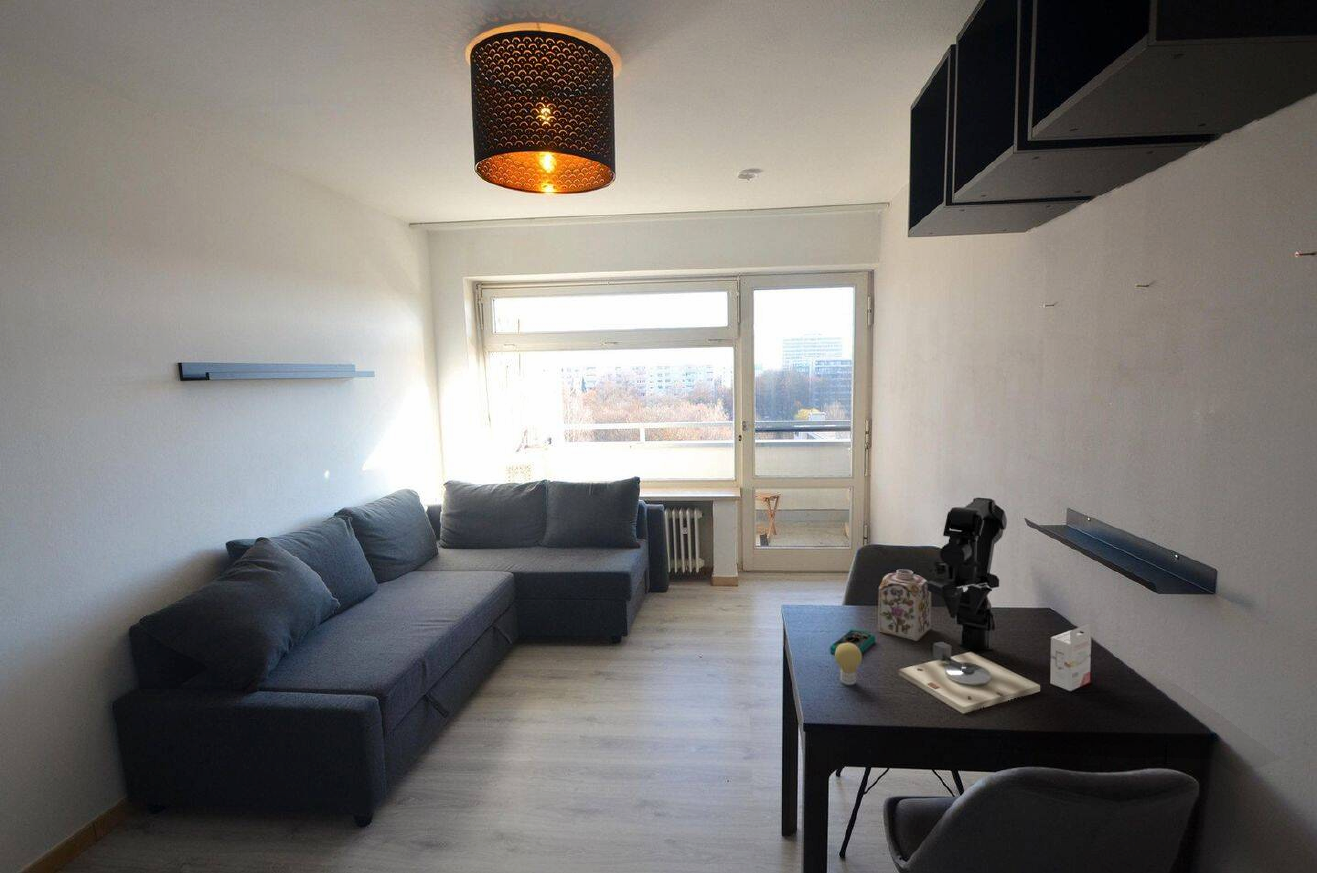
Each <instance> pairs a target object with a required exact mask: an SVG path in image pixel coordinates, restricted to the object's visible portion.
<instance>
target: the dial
mask: <svg viewBox="0 0 1317 873" xmlns="http://www.w3.org/2000/svg"><path fill="white" fill-rule="evenodd" d="M932 657H933V658H935V659H936V660H940V661H945V662H947V663H949V664H947V665H946V666H945V674H946V676H947V677H948V678H949V679H951V680H953V681H955V682H957V683H960V684H964V685H970V686H982V685H986V684H988V683H989V682H990V678H991V674H990V672H989V671H988V670H987V669H985V668H983V667H981V666H979V665H976V664H972V663H967V662H957V661H955V660H953V659H951V657H952V645H950V644H949V643H946V642H944V641H938V642H934V643H933V644H932Z"/></svg>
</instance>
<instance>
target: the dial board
mask: <svg viewBox="0 0 1317 873" xmlns="http://www.w3.org/2000/svg"><path fill="white" fill-rule="evenodd" d="M951 659H953V660H955V661H957V662H967V663H972V664H976V665H979V666H981V667H983V668H985V669H987V670H988V671H989V672H990V674H991V678H990V682H989V683H988V684H986V685H982V686H970V685H964V684H960V683H957V682H955V681H953V680H951V679H949V678H948V677H947V676H946V674H945V666H946V665H947V664H949V663H947V662H945V661H940V660H938V659H936V660H932V661H931V660H930V661H928V662H924V663H920V664H915V665H912V666H908V667H904V668H900V669H898V675H899V677H901V678H903V679H905V680H906V681H908V682H910V683H911V684H913V685H915V686H917V687H918V688H920V689H921V690H923V691H925V692H926V693H928V694H930V695H931V696H933V697H934V698H936V699H938V700H940V701H942V702H943V703H944V704H946V705H947V706H949V707H951V708H953V709H955V710H956V711H958V712H960V713H961V714H962V715H963V714H966V713H970V712H974V711H977V710H980V708H981V709H984V708H987V707H990V706H994V705H998V704H1001V703H1005V702H1008V700H1009V701H1011V699H1012V700H1015V699H1014V698H1016V699H1018V698H1017V697H1019V698H1022V697H1026V696H1030V695H1033V694H1035V693H1038V692H1041V684H1039V683H1036V682H1035V681H1032V680H1030V679H1028V678H1025V677H1024V676H1021V675H1020V674H1018V673H1015V672H1013V671H1011V670H1009V669H1007V668H1006V667H1004V666H1001V665H999V664H997V663H996V662H993V661H991V660H989V659H987V658H984V657H982V656H980V655H979V654H977V653H974V652H972V651H969V652H965V653H961V654H957V655H953V656H952V655H951ZM1021 696H1022V697H1021ZM983 707H984V708H983ZM973 710H974V711H973Z"/></svg>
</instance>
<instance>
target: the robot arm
mask: <svg viewBox="0 0 1317 873" xmlns="http://www.w3.org/2000/svg"><path fill="white" fill-rule="evenodd" d="M1007 522H1008V520H1007V516H1006V512H1005V510H1004V509H1003V508H1001V507H1000V506H998V505H997V503H996V501H995V499H992V498H987V497H975V498H973V500H972V501H971V502H970V503H968V504H967V505H966V506H964V507H963V506H962V507H961V506H955V507H952V508H950V511H948V512H947V515H946V519H945V523H944V529H943V533H942V537H947V538H949V539H948V542H947V543H946V544H944V545H943V546H942V547H941V548H940V551H939V556H940V559H941V561H942V562H943V563H940V562H939V561H933V562H929V564H928V565H929V567H928V569H929V573H930V574H931V575H932V576H933V575H935V578H936V579H931V580H929V581H928V591H930V592H931V594H934V595H937V596H940V597H942V599H943V601H944V603H945V606H946V609H947V611H948V614H949V617H950V618H951V619H956V624H957V625H960V626H962V631H961V641H959V642H957V645H958V646H960V647H962V648H964V649H966V650H969V652H972V653H974V654H979V653H984V652H988V651H992V650H994V646H992V645H990V644H989V642H990V641H989V640H990V636H989V635H990V632H992V631H996V626H997V625H996V616H995V614H994V612H993V609H992V604H991V601H990V599H989V597H988V595H989V594H990V593H991V592H993V589H994V588H999V587H1000V579H999V577H998V576H997V574H992V573H991V568H992V562H993V555H994V550H995V545H996V544H997V543H998V542H999V541H1000V540H1001V539H1002V537H1003V534H1004V531H1005V530H1006V529H1007V524H1008V523H1007ZM939 577H945V579H943V578H939ZM946 579H947V580H946ZM948 580H951V581H948ZM962 588H967V589H966V590H965V591H962V592H961V593H960V595H959V594H958V592H957V591H958V589H962Z"/></svg>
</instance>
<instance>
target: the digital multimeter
mask: <svg viewBox="0 0 1317 873" xmlns="http://www.w3.org/2000/svg"><path fill="white" fill-rule="evenodd" d="M875 641H876V636H875V635H874V634H873V633H871V632H867V631H864V630H860V629H859V630H858V629H850V630H849V631H848V632H847V633H845V634H844V635H843V636H842V637H841V638H839V639H838V640H837V641H835V642H834V643H833V644H831V645H830V647H829V653H830V654H832V655H835V651H836V648H837V647H838V646H839V645H840V644H842V643H852V644H854V645H856V646H857V647H858V648H859V650H860V651H861V654H863V652H865V651H866V650H867V649H868V648H869V647H871V646H872V645H873V644H874V643H875ZM870 645H871V646H870Z"/></svg>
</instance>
